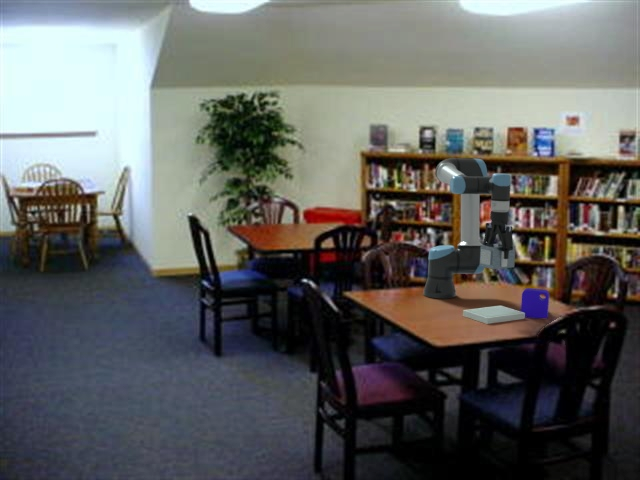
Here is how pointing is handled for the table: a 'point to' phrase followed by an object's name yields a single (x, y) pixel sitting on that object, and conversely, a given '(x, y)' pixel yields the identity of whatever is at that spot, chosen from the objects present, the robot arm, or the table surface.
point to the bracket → (535, 303)
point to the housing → (495, 256)
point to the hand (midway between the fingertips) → (496, 264)
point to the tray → (493, 314)
